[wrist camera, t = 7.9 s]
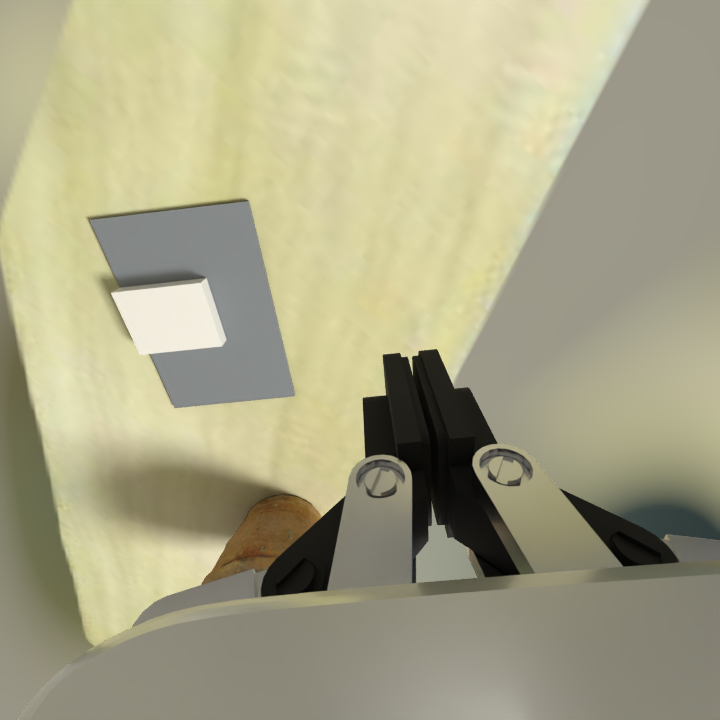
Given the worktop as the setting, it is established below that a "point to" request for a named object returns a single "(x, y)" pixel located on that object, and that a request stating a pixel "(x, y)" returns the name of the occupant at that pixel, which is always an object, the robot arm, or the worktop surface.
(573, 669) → the robot arm
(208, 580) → the potted plant
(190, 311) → the tile
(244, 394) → the mat
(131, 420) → the worktop surface
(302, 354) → the worktop surface
